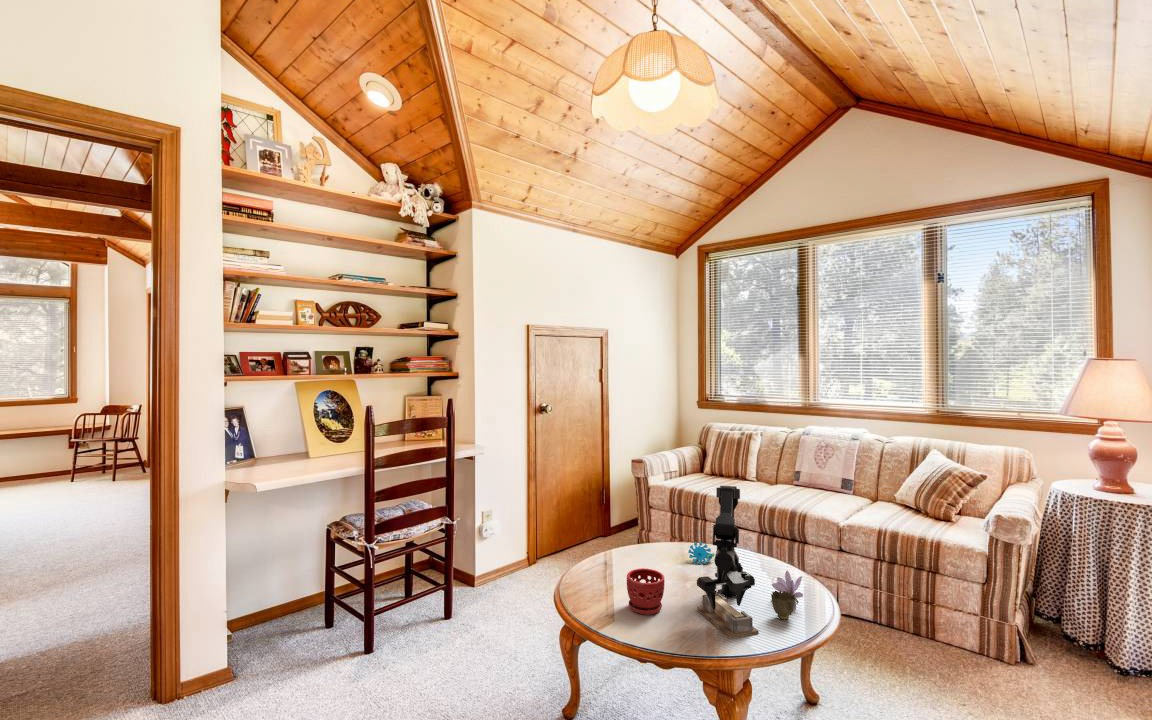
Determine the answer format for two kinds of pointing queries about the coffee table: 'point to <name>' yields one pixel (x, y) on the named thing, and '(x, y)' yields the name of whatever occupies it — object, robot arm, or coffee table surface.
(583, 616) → the coffee table surface
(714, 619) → the end cap base
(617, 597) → the coffee table surface
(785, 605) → the cup
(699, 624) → the coffee table surface
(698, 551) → the gear
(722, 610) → the birch slat
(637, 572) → the plant pot
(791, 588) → the water lily
